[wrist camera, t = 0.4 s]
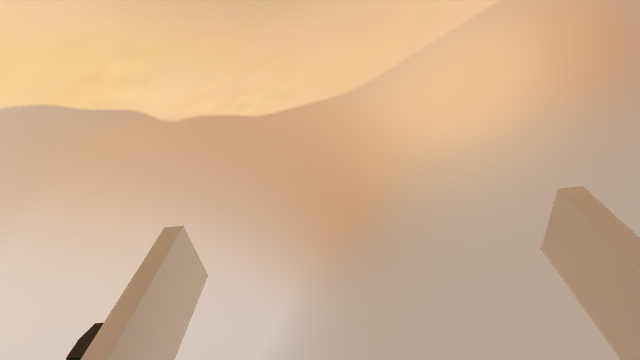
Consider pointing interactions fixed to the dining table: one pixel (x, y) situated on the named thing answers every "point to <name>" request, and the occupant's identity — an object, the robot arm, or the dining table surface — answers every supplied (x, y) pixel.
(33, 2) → the dining table surface
